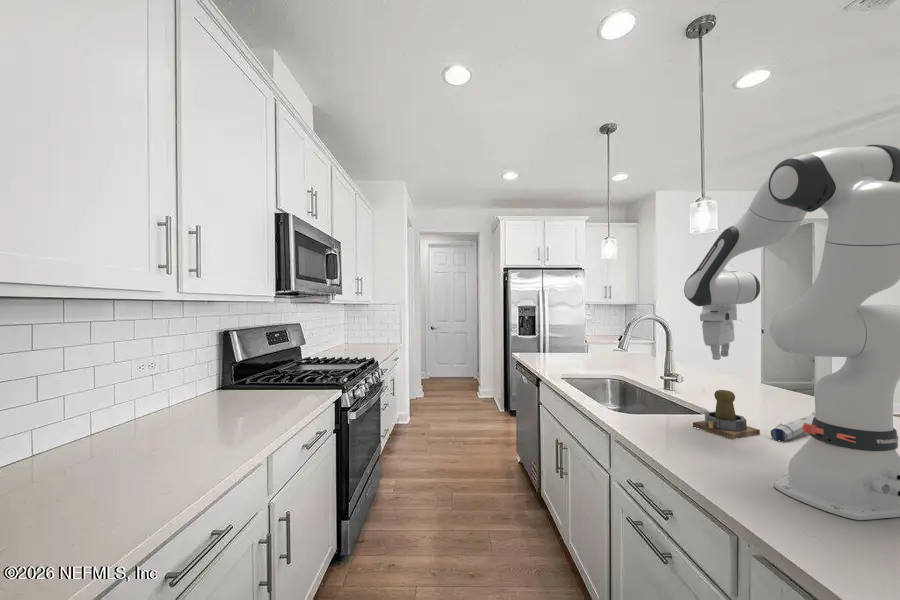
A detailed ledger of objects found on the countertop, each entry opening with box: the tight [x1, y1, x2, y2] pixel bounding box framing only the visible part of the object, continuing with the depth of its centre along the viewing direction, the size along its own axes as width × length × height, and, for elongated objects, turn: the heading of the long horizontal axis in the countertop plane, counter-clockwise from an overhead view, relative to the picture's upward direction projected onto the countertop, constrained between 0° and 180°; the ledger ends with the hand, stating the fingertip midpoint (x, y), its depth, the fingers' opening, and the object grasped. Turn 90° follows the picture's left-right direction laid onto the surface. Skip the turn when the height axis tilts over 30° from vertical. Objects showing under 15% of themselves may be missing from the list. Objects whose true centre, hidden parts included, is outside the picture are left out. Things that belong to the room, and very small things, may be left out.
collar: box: [704, 410, 748, 432], centre depth 115 cm, size 11×10×3 cm
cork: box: [713, 389, 737, 421], centre depth 115 cm, size 6×6×11 cm
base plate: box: [692, 420, 761, 440], centre depth 115 cm, size 12×12×2 cm
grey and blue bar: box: [770, 409, 815, 443], centre depth 110 cm, size 5×7×25 cm
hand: (720, 358), depth 117 cm, fingers open, 8 cm apart
